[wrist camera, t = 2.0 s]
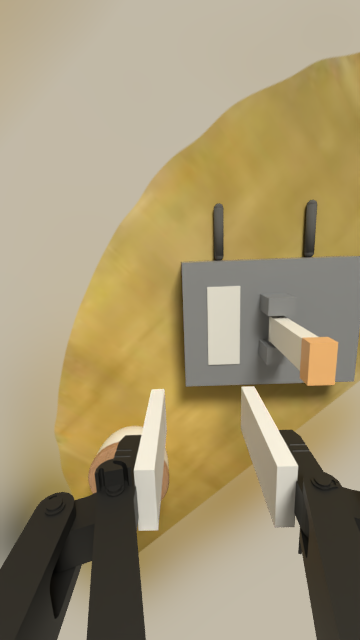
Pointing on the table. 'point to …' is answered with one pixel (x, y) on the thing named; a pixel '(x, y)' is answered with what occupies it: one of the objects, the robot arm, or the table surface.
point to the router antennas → (308, 231)
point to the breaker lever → (305, 350)
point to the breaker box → (266, 316)
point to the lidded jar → (109, 451)
